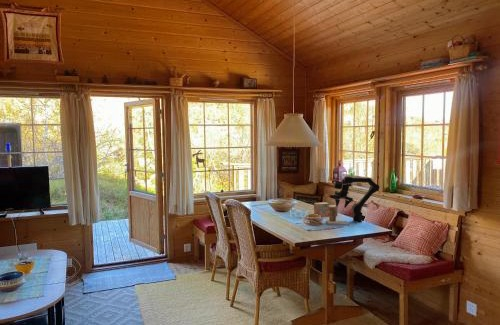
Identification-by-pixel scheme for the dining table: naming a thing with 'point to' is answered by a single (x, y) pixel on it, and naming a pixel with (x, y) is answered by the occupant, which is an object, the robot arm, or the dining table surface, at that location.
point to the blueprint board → (337, 222)
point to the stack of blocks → (323, 208)
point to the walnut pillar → (332, 214)
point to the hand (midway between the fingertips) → (340, 207)
